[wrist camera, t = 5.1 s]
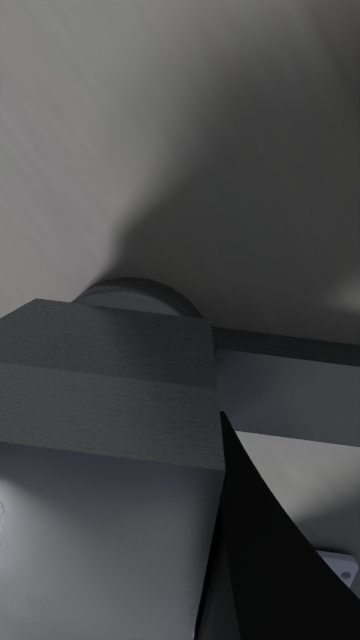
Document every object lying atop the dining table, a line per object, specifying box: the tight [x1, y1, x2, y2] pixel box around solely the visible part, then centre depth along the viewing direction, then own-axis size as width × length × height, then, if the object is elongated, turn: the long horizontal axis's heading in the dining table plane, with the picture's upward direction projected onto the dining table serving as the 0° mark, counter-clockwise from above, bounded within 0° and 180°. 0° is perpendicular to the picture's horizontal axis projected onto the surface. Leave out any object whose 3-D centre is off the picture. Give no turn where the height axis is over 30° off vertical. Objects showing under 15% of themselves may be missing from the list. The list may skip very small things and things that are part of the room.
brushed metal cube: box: [0, 299, 226, 640], centre depth 8 cm, size 5×5×6 cm
